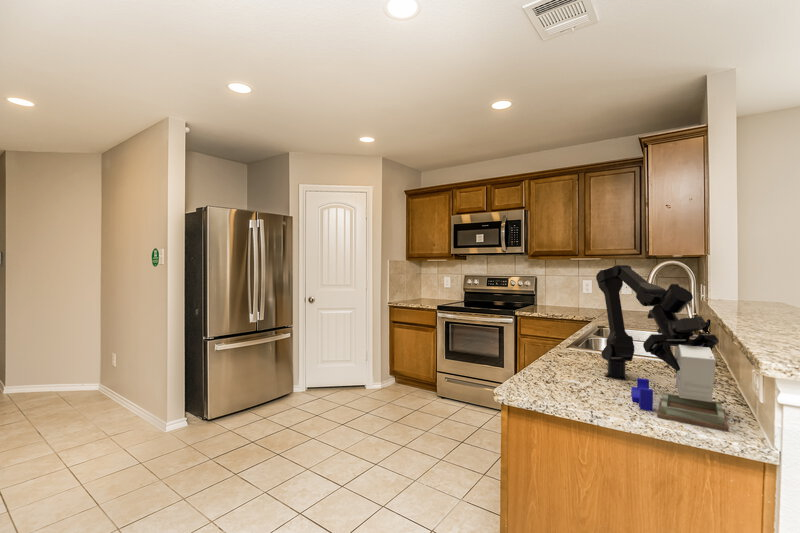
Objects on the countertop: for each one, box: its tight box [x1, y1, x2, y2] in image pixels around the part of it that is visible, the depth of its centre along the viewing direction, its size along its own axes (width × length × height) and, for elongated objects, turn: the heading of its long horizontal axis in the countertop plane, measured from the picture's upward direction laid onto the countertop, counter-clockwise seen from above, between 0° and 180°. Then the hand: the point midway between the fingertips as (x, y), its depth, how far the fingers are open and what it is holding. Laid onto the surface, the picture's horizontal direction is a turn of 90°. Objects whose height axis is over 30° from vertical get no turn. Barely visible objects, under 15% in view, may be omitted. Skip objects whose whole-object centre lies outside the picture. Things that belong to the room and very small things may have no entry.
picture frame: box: [656, 392, 730, 432], centre depth 110 cm, size 15×15×3 cm
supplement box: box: [675, 345, 717, 402], centre depth 109 cm, size 7×7×13 cm
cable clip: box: [630, 377, 654, 412], centre depth 119 cm, size 12×4×6 cm, turn 153°
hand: (695, 370), depth 109 cm, fingers closed on supplement box, 9 cm apart
